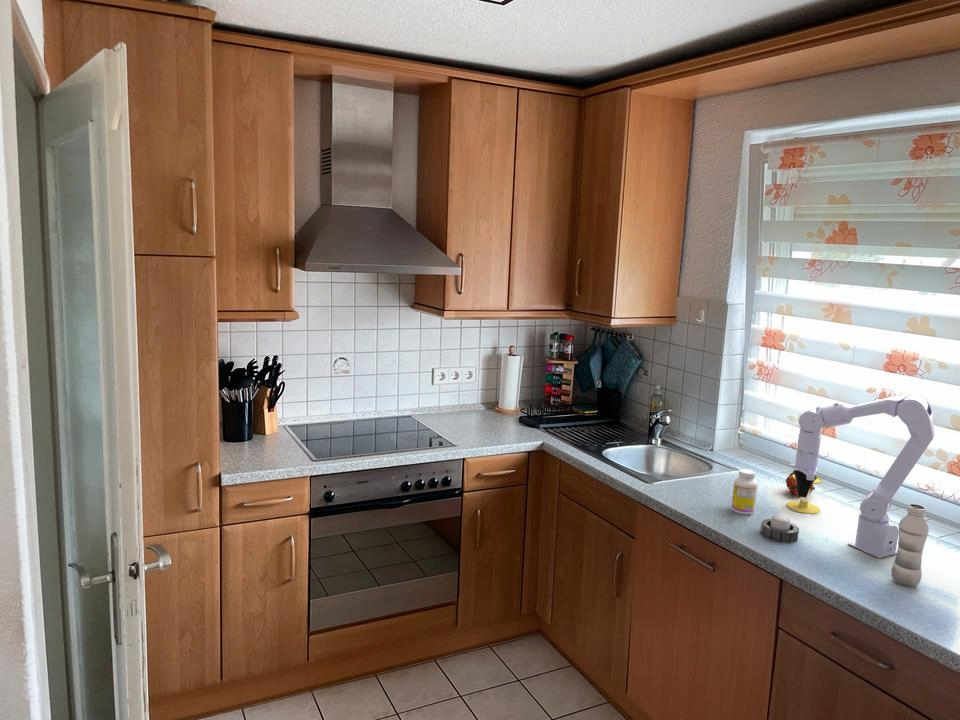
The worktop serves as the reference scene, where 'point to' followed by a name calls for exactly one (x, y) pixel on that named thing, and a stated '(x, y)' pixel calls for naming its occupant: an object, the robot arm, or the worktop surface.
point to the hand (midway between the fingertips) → (801, 496)
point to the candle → (804, 503)
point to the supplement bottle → (744, 492)
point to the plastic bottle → (910, 547)
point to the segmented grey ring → (779, 532)
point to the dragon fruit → (794, 485)
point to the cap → (780, 523)
